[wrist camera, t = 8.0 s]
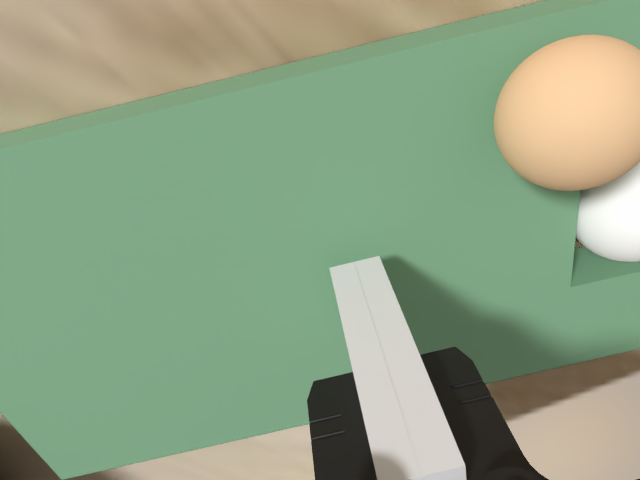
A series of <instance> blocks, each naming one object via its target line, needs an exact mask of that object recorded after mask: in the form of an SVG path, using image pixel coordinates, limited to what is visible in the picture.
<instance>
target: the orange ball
mask: <svg viewBox="0 0 640 480" xmlns="http://www.w3.org/2000/svg"><path fill="white" fill-rule="evenodd" d="M494 134H495V138H496V142H497V145H498V148H499V151H500V152H501V154H502V156H503V158H504V159H505V161H506V162H507V163H508V165H509V166H510V167H511V168H512V169H513V170H514V171H515V172H516V173H517V174H519V175H520V176H521V177H523V178H524V179H526V180H528V181H529V182H531V183H533V184H536V185H539V186H541V187H544V188H548V189H553V190H559V191H577V190H585V189H590V188H594V187H598V186H601V185H604V184H606V183H609V182H611V181H613V180H615V179H617V178H619V177H620V176H622V175H624V174H625V173H627V172H628V171H630V170H631V169H632V168H633V167H635V166H636V165H637V164H638V163H639V162H640V50H639V49H638V48H636V47H635V46H633V45H631V44H629V43H628V42H626V41H623V40H620V39H617V38H613V37H610V36H603V35H579V36H573V37H568V38H564V39H561V40H558V41H555V42H553V43H551V44H549V45H546V46H544V47H542V48H541V49H539V50H537V51H536V52H534V53H533V54H532V55H530V56H529V57H528V58H526V59H525V60H524V61H523V62H522V63H521V64H520V65H519V66H518V67H517V68H516V69H515V70H514V71H513V72H512V74H511V75H510V76H509V78H508V79H507V81H506V82H505V84H504V86H503V88H502V90H501V92H500V94H499V97H498V100H497V103H496V107H495V113H494Z"/></svg>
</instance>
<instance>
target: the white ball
mask: <svg viewBox="0 0 640 480" xmlns="http://www.w3.org/2000/svg"><path fill="white" fill-rule="evenodd" d="M576 238H577V239H578V240H579V242H580V243H581V244H582V245H584V246H585V247H586V248H587V249H589V250H590V251H592V252H593V253H595V254H597V255H599V256H601V257H604V258H607V259H611V260H615V261H623V262H638V261H640V162H639V163H638V164H637V165H636V166H635V167H633V168H632V169H631V170H630V171H628V172H627V173H625V174H624V175H622V176H620V177H619V178H617V179H615V180H613V181H611V182H609V183H606V184H604V185H601V186H598V187H594V188H590V189H585V190H580V199H579V209H578V219H577V229H576Z"/></svg>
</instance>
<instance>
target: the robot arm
mask: <svg viewBox="0 0 640 480" xmlns="http://www.w3.org/2000/svg"><path fill="white" fill-rule="evenodd" d="M329 269H330V273H331V278H332V282H333V287H334V291H335V295H336V300H337V304H338V309H339V313H340V317H341V322H342V326H343V331H344V335H345V339H346V344H347V348H348V353H349V357H350V361H351V366H352V370H353V372H350V373H346V374H342V375H338V376H333V377H329V378H325V379H321V380H316V381H313V384H312V387H311V390H310V393H309V396H308V399H307V406H308V415H309V422H310V434H311V440H312V441H311V443H312V453H313V462H314V472H315V480H548V479H547V478H545V477H544V476H542V475H541V474H539V473H538V472H537V471H536V470H535V469H534V468H533V467H532V466H531V465H530V464H529V462H528V461H527V460H526V458H525V457H524V455H523V453H522V451H521V450H520V448H519V446H518V444H517V442H516V440H515V439H514V437H513V435H512V433H511V431H510V429H509V427H508V425H507V424H506V422H505V420H504V418H503V416H502V414H501V413H500V411H499V409H498V407H497V405H496V403H495V401H494V400H493V398H492V397H491V395H490V392H489V390H488V388H487V387H486V385H485V383H484V382H483V380H482V377H481V375H480V374H479V372H478V370H477V368H476V366H475V364H474V362H473V361H472V360H471V359H470V358H469V357H468V356H467V355H465V354H464V353H463V352H462V351H460V350H459V349H458V348H457V347H456V346H455V347H450V348H446V349H442V350H438V351H434V352H429V353H425V354H421V355H420V354H419V351H418V349H417V347H416V344H415V342H414V339H413V337H412V334H411V332H410V329H409V327H408V325H407V322H406V320H405V317H404V315H403V312H402V310H401V308H400V305H399V303H398V300H397V298H396V295H395V293H394V291H393V288H392V286H391V283H390V281H389V278H388V276H387V274H386V271H385V269H384V266H383V264H382V261H381V259H380V256H376V257H372V258H368V259H364V260H360V261H356V262H351V263H347V264H343V265H339V266H335V267H331V268H329ZM637 480H640V479H637Z"/></svg>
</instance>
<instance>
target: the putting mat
mask: <svg viewBox="0 0 640 480" xmlns="http://www.w3.org/2000/svg"><path fill="white" fill-rule="evenodd" d="M579 35H603V36H610V37H613V38H617V39H620V40H623V41H626V42H628V43H629V44H631V45H633V46H635V47H636V48H638V49H639V50H640V0H543V1H539V2H535V3H531V4H527V5H523V6H519V7H515V8H511V9H507V10H503V11H499V12H495V13H491V14H487V15H483V16H479V17H474V18H470V19H466V20H462V21H458V22H454V23H450V24H446V25H442V26H438V27H434V28H430V29H426V30H422V31H418V32H414V33H409V34H405V35H401V36H397V37H393V38H389V39H385V40H381V41H377V42H373V43H369V44H365V45H361V46H357V47H353V48H349V49H345V50H340V51H336V52H332V53H328V54H324V55H320V56H316V57H312V58H308V59H304V60H300V61H296V62H292V63H288V64H284V65H280V66H275V67H271V68H267V69H263V70H259V71H255V72H251V73H247V74H243V75H239V76H235V77H231V78H227V79H223V80H219V81H215V82H210V83H206V84H202V85H198V86H194V87H190V88H186V89H182V90H178V91H174V92H170V93H166V94H162V95H158V96H154V97H150V98H146V99H141V100H137V101H133V102H129V103H125V104H121V105H117V106H113V107H109V108H105V109H101V110H97V111H93V112H89V113H85V114H81V115H76V116H72V117H68V118H64V119H60V120H56V121H52V122H48V123H44V124H40V125H36V126H32V127H28V128H24V129H20V130H16V131H11V132H7V133H3V134H0V413H1V414H2V415H3V416H4V417H5V418H6V419H7V420H8V421H9V423H10V424H11V425H12V426H13V427H14V428H15V429H16V430H17V431H18V432H19V434H20V435H21V436H22V437H23V438H24V439H25V440H26V441H27V442H28V443H29V445H30V446H31V447H32V448H33V449H34V450H35V451H36V452H37V453H38V454H39V456H40V457H41V458H42V459H43V460H44V461H45V462H46V463H47V464H48V465H49V467H50V468H51V469H52V470H53V471H54V472H55V473H56V474H57V475H58V477H59V478H60V479H61V480H64V479H68V478H73V477H77V476H82V475H86V474H90V473H95V472H99V471H104V470H108V469H113V468H117V467H121V466H126V465H130V464H135V463H139V462H143V461H148V460H152V459H157V458H161V457H165V456H170V455H174V454H179V453H183V452H187V451H192V450H196V449H201V448H205V447H210V446H214V445H218V444H223V443H227V442H232V441H236V440H240V439H245V438H249V437H254V436H258V435H262V434H267V433H271V432H276V431H280V430H285V429H289V428H293V427H298V426H302V425H307V424H310V422H309V415H308V406H307V399H308V396H309V393H310V390H311V387H312V384H313V381H316V380H321V379H325V378H329V377H333V376H338V375H342V374H346V373H350V372H353V370H352V366H351V361H350V357H349V353H348V348H347V344H346V339H345V335H344V331H343V326H342V322H341V317H340V313H339V309H338V304H337V300H336V295H335V291H334V287H333V282H332V278H331V273H330V269H329V268H331V267H335V266H339V265H343V264H347V263H351V262H356V261H360V260H364V259H368V258H372V257H376V256H380V259H381V261H382V264H383V266H384V269H385V271H386V274H387V276H388V278H389V281H390V283H391V286H392V288H393V291H394V293H395V295H396V298H397V300H398V303H399V305H400V308H401V310H402V312H403V315H404V317H405V320H406V322H407V325H408V327H409V329H410V332H411V334H412V337H413V339H414V342H415V344H416V347H417V349H418V351H419V354H420V355H421V354H425V353H429V352H434V351H438V350H442V349H446V348H450V347H455V346H456V347H457V348H458V349H459V350H460V351H462V352H463V353H464V354H465V355H467V356H468V357H469V358H470V359H471V360H472V361H473V362H474V364H475V366H476V368H477V370H478V372H479V374H480V375H481V377H482V380H483V382H484V383H485V384H487V383H492V382H496V381H501V380H505V379H509V378H514V377H518V376H523V375H527V374H531V373H536V372H540V371H545V370H549V369H554V368H558V367H562V366H567V365H571V364H576V363H580V362H584V361H589V360H593V359H598V358H602V357H606V356H611V355H615V354H620V353H624V352H629V351H633V350H637V349H640V261H638V262H623V261H615V260H611V259H607V258H604V257H601V256H599V255H597V254H595V253H593V252H592V251H590V250H589V249H587V248H586V247H585V246H583V247H579V248H575V239H576V229H577V219H578V209H579V199H580V190H577V191H559V190H553V189H548V188H544V187H541V186H539V185H536V184H533V183H531V182H529V181H528V180H526V179H524V178H523V177H521V176H520V175H519V174H517V173H516V172H515V171H514V170H513V169H512V168H511V167H510V166H509V165H508V163H507V162H506V161H505V159H504V158H503V156H502V154H501V152H500V151H499V148H498V145H497V142H496V138H495V134H494V113H495V107H496V103H497V100H498V97H499V94H500V92H501V90H502V88H503V86H504V84H505V82H506V81H507V79H508V78H509V76H510V75H511V74H512V72H513V71H514V70H515V69H516V68H517V67H518V66H519V65H520V64H521V63H522V62H523V61H524V60H525V59H526V58H528V57H529V56H530V55H532V54H533V53H534V52H536V51H537V50H539V49H541V48H542V47H544V46H546V45H549V44H551V43H553V42H555V41H558V40H561V39H564V38H568V37H573V36H579Z"/></svg>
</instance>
